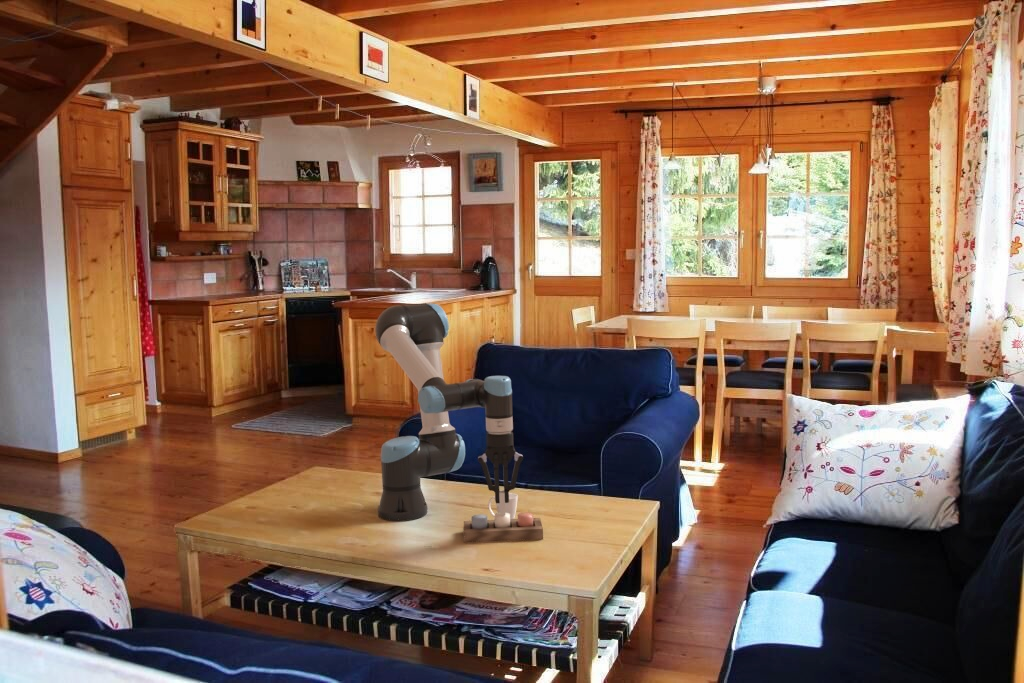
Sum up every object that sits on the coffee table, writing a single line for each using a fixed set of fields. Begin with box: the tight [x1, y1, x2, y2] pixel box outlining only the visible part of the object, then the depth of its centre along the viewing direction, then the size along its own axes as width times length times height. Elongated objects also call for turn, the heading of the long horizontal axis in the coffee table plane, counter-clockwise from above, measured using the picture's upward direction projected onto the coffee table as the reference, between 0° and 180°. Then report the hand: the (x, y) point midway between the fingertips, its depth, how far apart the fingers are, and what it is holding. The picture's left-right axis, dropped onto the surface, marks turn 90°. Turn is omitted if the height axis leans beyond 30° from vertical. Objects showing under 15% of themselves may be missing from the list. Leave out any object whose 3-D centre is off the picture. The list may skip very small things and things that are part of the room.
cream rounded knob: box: [494, 512, 510, 528], centre depth 246 cm, size 4×4×4 cm
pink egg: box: [517, 512, 534, 527], centre depth 246 cm, size 4×4×4 cm
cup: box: [488, 492, 519, 519], centre depth 258 cm, size 7×10×8 cm
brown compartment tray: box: [463, 517, 544, 544], centre depth 246 cm, size 22×10×3 cm, turn 93°
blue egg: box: [470, 514, 488, 529], centre depth 245 cm, size 4×4×4 cm
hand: (502, 513), depth 245 cm, fingers closed
